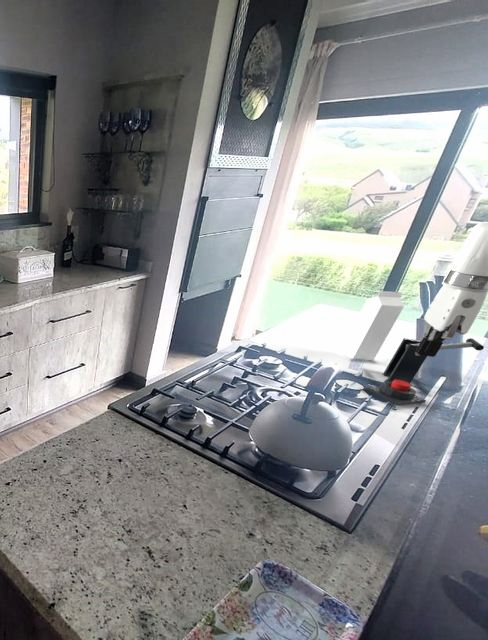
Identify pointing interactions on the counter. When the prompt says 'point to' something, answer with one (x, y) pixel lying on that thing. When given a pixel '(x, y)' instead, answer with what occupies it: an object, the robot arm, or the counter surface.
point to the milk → (373, 325)
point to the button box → (396, 394)
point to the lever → (460, 345)
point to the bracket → (405, 362)
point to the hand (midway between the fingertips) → (424, 354)
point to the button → (401, 385)
